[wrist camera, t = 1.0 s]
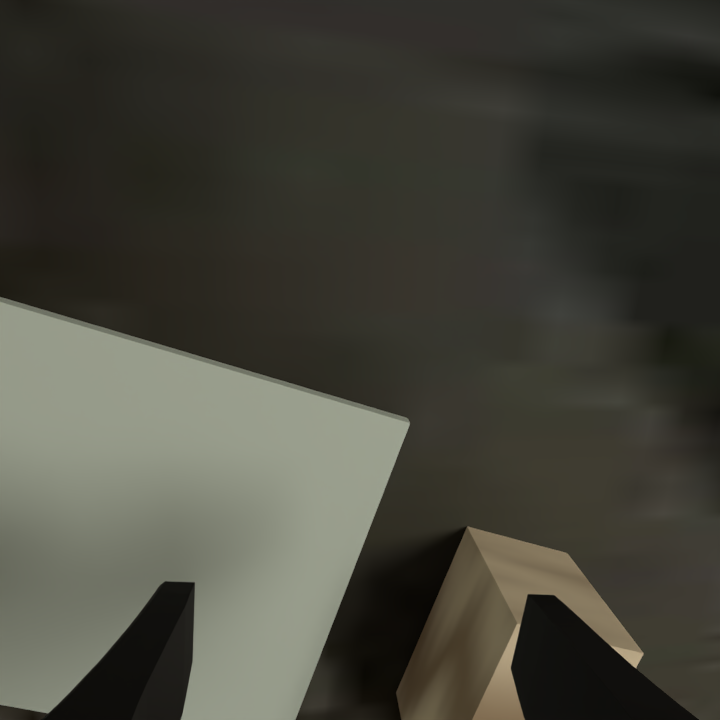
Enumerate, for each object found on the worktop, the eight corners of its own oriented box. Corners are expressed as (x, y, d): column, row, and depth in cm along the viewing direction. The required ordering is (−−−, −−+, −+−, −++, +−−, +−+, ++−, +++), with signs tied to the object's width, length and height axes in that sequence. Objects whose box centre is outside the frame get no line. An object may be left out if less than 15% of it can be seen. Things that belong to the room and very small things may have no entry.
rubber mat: (282, 743, 24) (281, 754, 24) (-82, 677, 22) (-90, 688, 21) (407, 418, 21) (409, 423, 21) (-3, 296, 19) (-10, 298, 18)
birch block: (490, 709, 25) (541, 844, 20) (395, 690, 25) (422, 825, 19) (565, 551, 24) (643, 653, 18) (466, 524, 23) (517, 623, 18)
